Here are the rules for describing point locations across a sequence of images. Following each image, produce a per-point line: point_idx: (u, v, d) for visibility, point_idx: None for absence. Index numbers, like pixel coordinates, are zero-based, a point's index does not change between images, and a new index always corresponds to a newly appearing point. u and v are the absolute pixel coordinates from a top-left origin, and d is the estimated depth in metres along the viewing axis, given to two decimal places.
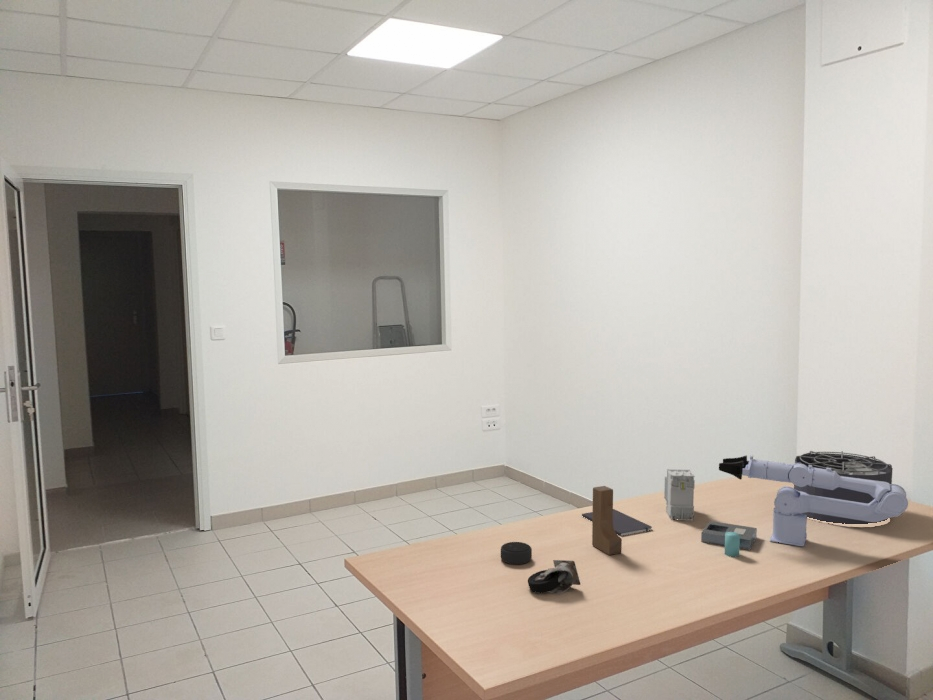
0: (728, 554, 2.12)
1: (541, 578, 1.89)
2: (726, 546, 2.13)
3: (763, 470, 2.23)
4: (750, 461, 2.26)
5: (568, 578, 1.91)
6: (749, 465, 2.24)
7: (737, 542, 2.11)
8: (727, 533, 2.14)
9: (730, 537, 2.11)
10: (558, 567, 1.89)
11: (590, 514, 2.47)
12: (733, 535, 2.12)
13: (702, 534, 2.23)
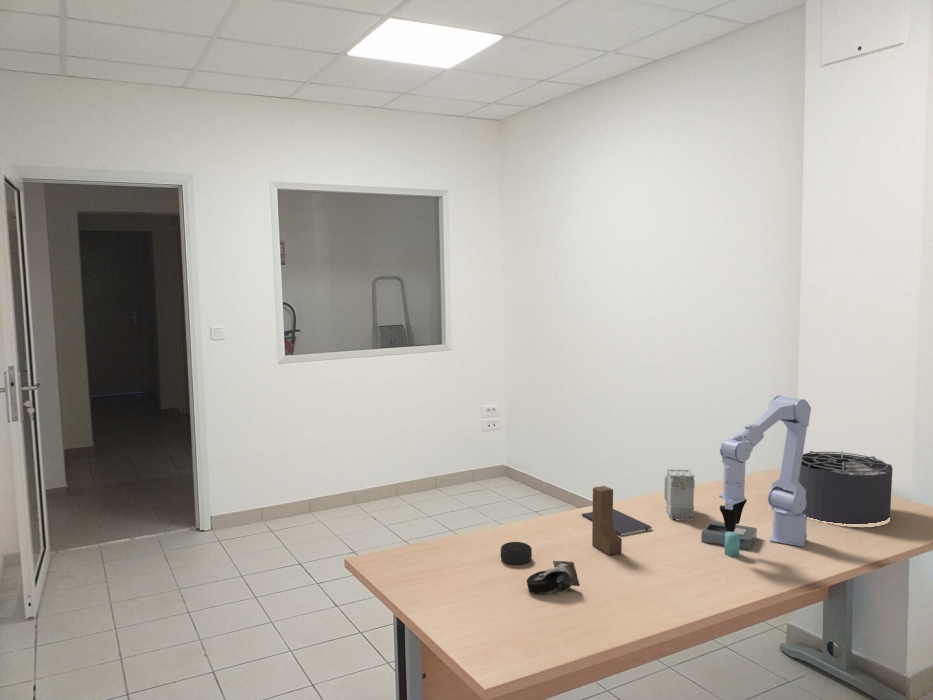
0: (728, 554, 2.12)
1: (540, 578, 1.89)
2: (726, 546, 2.13)
3: (730, 486, 2.09)
4: (723, 498, 2.11)
5: (567, 579, 1.91)
6: (724, 500, 2.09)
7: (737, 542, 2.11)
8: (727, 533, 2.14)
9: (730, 537, 2.11)
10: (557, 568, 1.88)
11: (590, 514, 2.47)
12: (733, 535, 2.12)
13: (702, 534, 2.23)
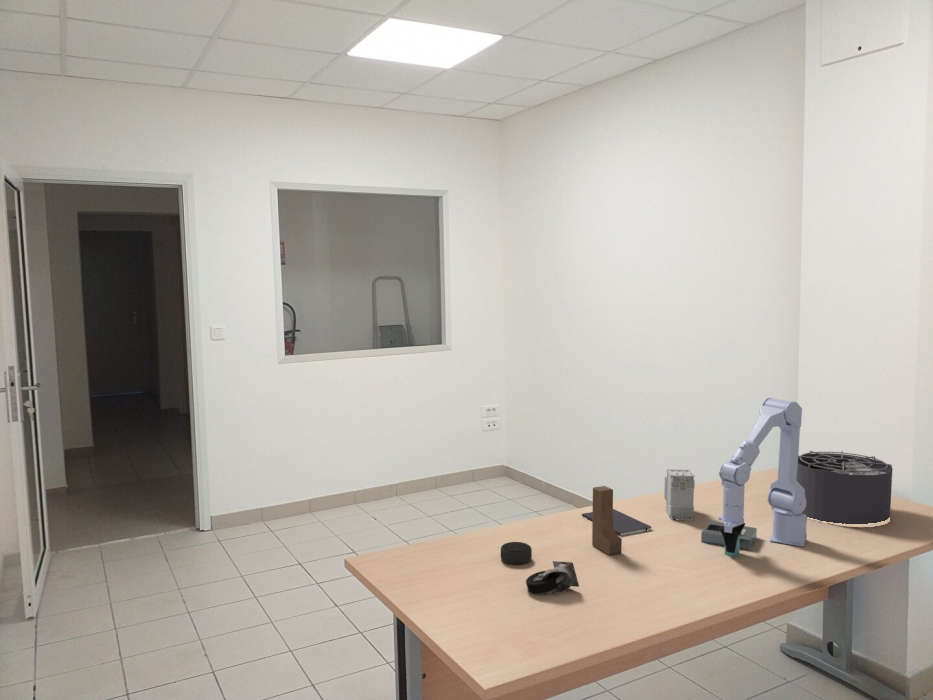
0: (728, 554, 2.12)
1: (539, 579, 1.88)
2: None
3: (730, 509, 2.10)
4: (722, 520, 2.12)
5: (567, 579, 1.90)
6: (724, 523, 2.10)
7: (737, 542, 2.11)
8: None
9: None
10: (556, 568, 1.88)
11: (590, 514, 2.47)
12: None
13: (702, 534, 2.23)
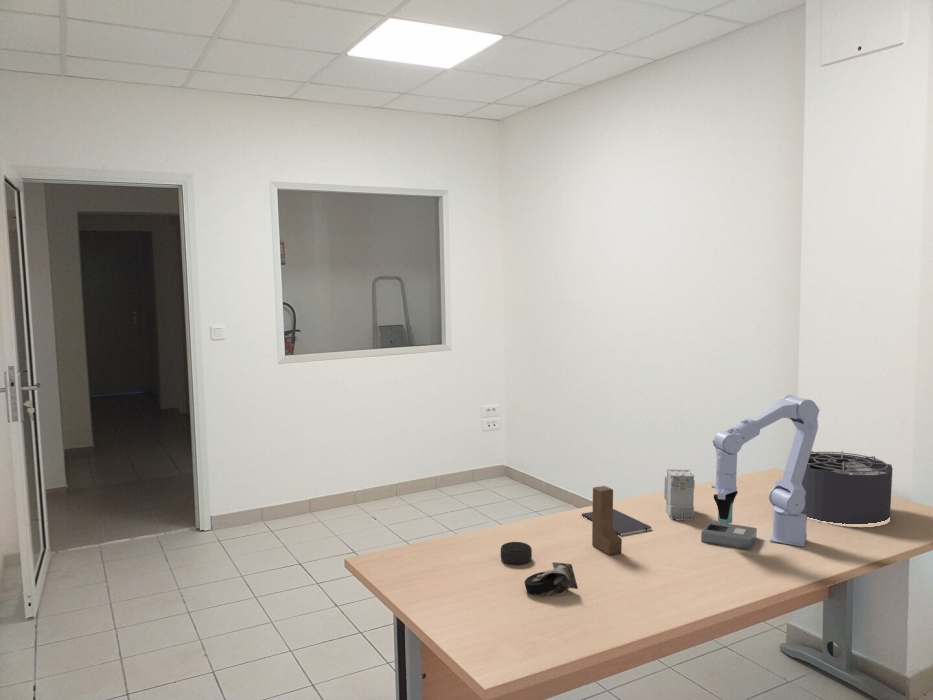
0: (721, 521, 2.19)
1: (537, 579, 1.88)
2: None
3: (723, 477, 2.16)
4: (715, 488, 2.18)
5: (566, 581, 1.89)
6: (717, 490, 2.16)
7: (730, 509, 2.18)
8: None
9: None
10: (554, 569, 1.87)
11: (590, 514, 2.47)
12: None
13: (702, 534, 2.23)
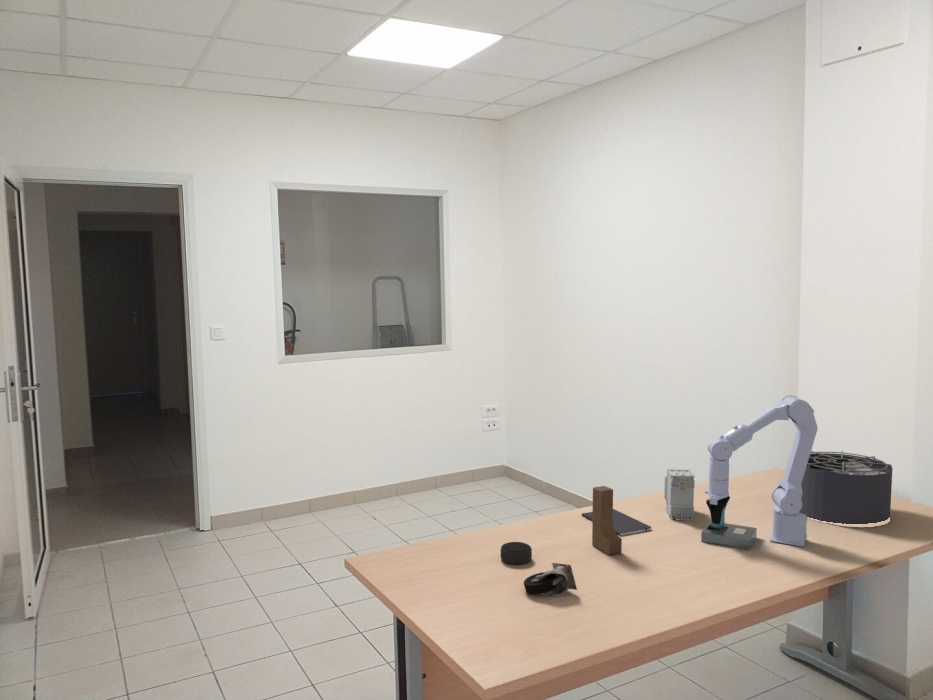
0: (713, 525, 2.26)
1: (536, 580, 1.88)
2: None
3: (715, 482, 2.23)
4: (708, 493, 2.25)
5: (565, 582, 1.89)
6: (709, 496, 2.23)
7: (722, 514, 2.25)
8: None
9: None
10: (553, 570, 1.87)
11: (590, 514, 2.47)
12: None
13: (702, 534, 2.23)
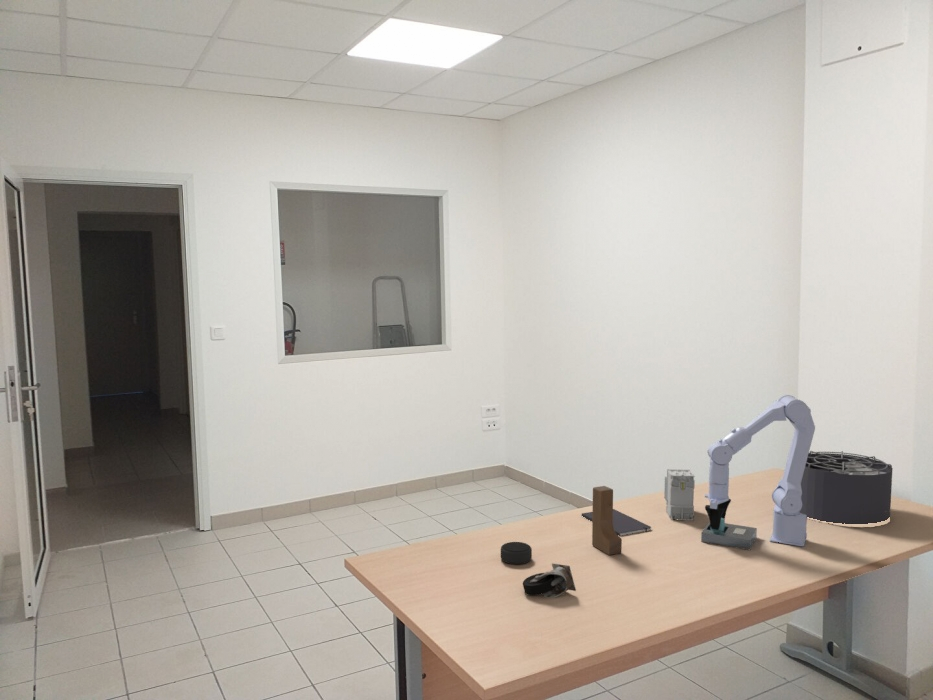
0: None
1: (535, 580, 1.88)
2: None
3: (715, 487, 2.23)
4: (708, 498, 2.25)
5: (564, 583, 1.88)
6: (709, 500, 2.23)
7: (722, 526, 2.25)
8: None
9: None
10: (552, 571, 1.86)
11: (590, 514, 2.47)
12: None
13: (702, 534, 2.23)
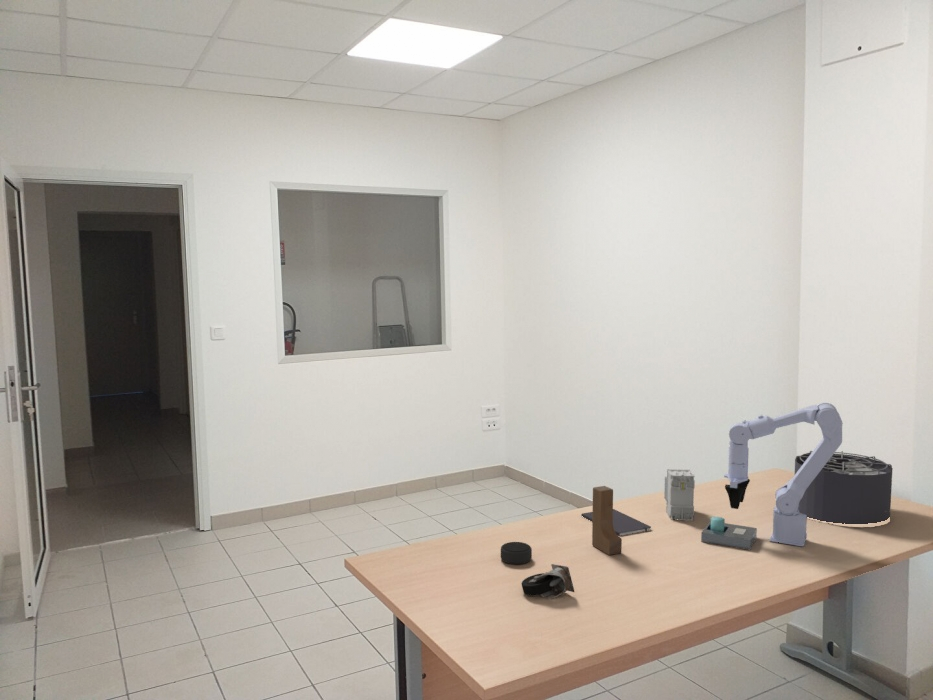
0: None
1: (534, 581, 1.87)
2: None
3: (735, 466, 2.26)
4: (728, 477, 2.28)
5: (563, 584, 1.88)
6: (729, 479, 2.25)
7: (722, 526, 2.25)
8: (713, 518, 2.27)
9: (715, 521, 2.25)
10: (551, 571, 1.86)
11: (589, 514, 2.47)
12: (718, 519, 2.26)
13: (702, 534, 2.23)
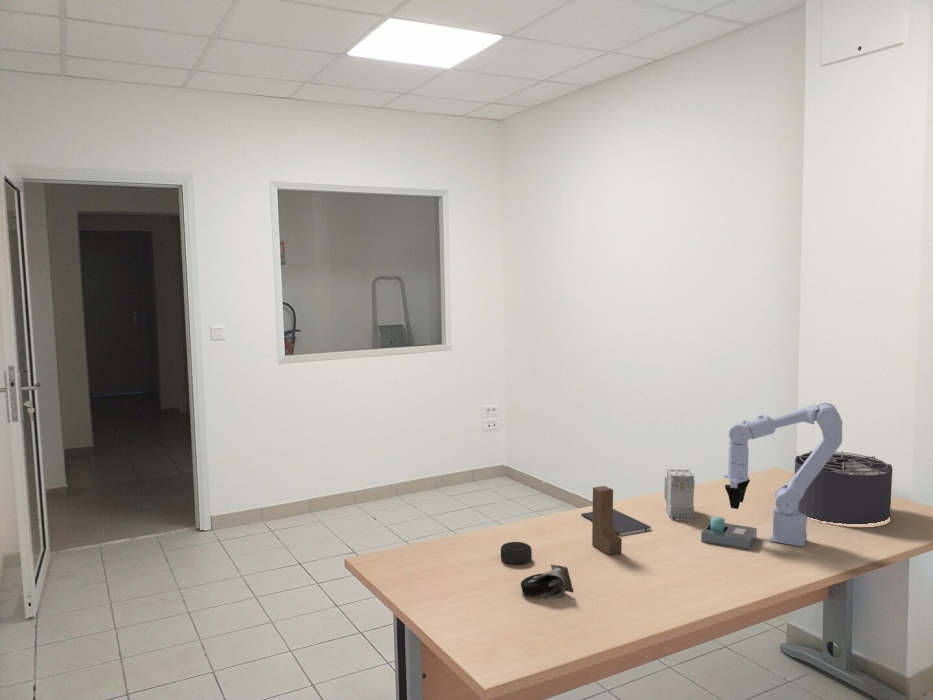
0: None
1: (533, 581, 1.87)
2: None
3: (735, 466, 2.26)
4: (728, 477, 2.28)
5: (562, 584, 1.87)
6: (729, 479, 2.25)
7: (722, 526, 2.25)
8: (712, 518, 2.27)
9: (715, 521, 2.25)
10: (550, 572, 1.86)
11: (589, 514, 2.47)
12: (718, 519, 2.26)
13: (702, 534, 2.23)
